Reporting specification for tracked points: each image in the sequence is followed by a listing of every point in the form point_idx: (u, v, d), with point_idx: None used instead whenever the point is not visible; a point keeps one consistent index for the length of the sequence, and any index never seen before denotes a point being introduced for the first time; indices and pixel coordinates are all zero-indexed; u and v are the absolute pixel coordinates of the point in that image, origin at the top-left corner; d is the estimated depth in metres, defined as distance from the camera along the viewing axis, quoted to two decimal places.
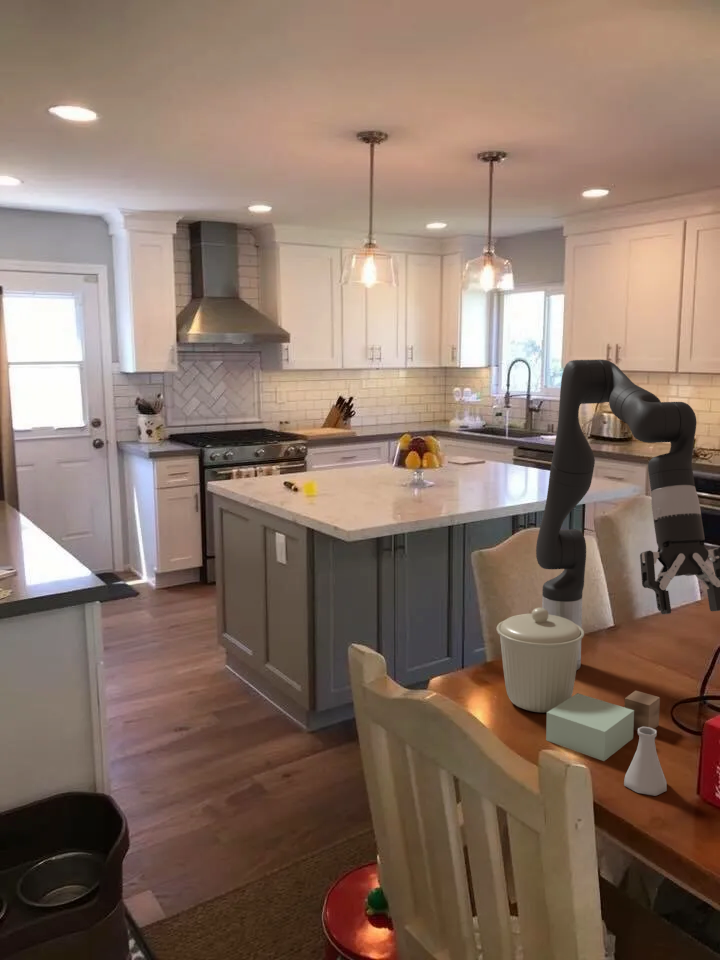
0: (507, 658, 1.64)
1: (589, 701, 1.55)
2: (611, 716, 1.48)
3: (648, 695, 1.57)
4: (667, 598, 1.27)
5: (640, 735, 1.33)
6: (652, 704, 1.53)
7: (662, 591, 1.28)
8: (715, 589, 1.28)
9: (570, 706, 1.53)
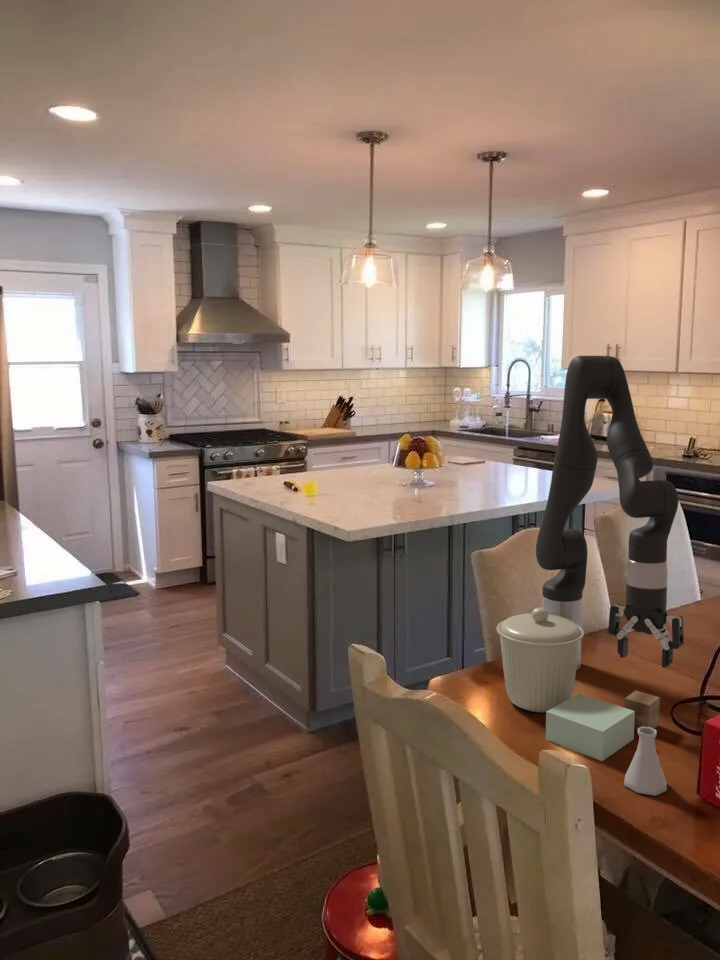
0: (507, 658, 1.64)
1: (590, 701, 1.55)
2: (610, 716, 1.48)
3: (648, 695, 1.57)
4: (621, 646, 1.56)
5: (640, 735, 1.33)
6: (652, 704, 1.53)
7: (620, 639, 1.57)
8: (663, 651, 1.50)
9: (571, 705, 1.53)
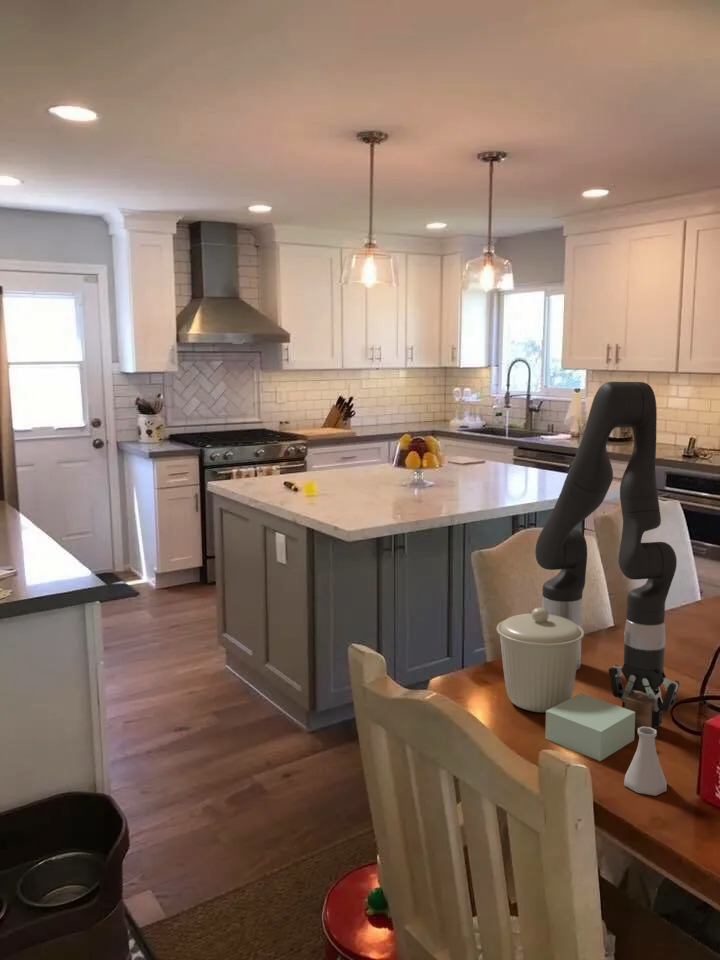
0: (507, 658, 1.64)
1: (591, 701, 1.55)
2: (610, 716, 1.48)
3: None
4: None
5: (640, 735, 1.33)
6: None
7: None
8: (653, 712, 1.53)
9: (571, 705, 1.53)
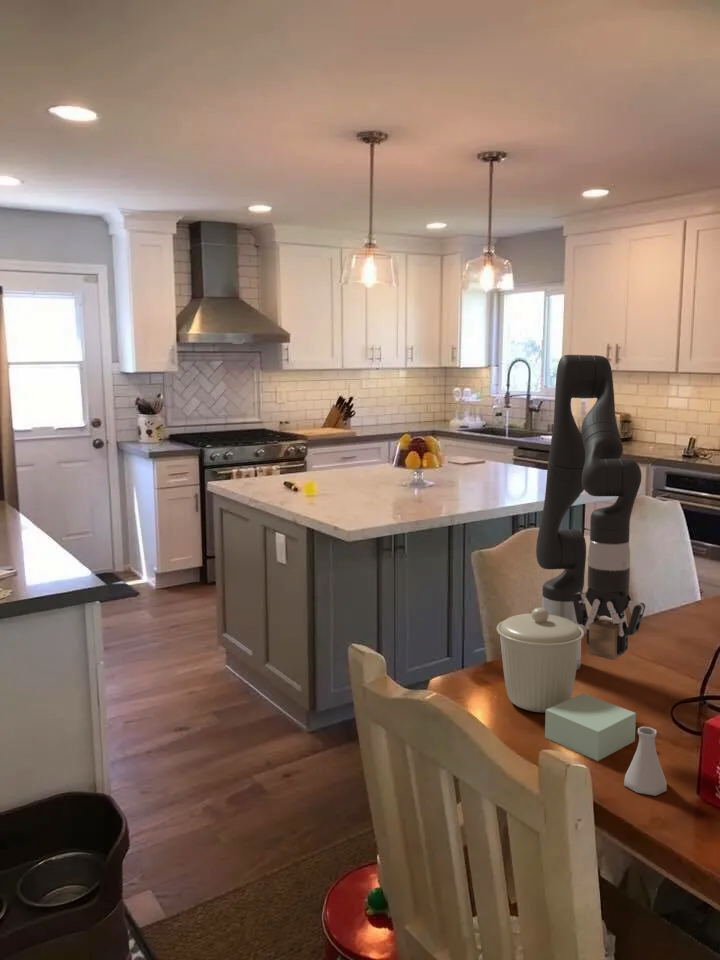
0: (507, 658, 1.64)
1: (593, 701, 1.55)
2: (610, 717, 1.48)
3: None
4: None
5: (640, 735, 1.33)
6: None
7: None
8: (618, 637, 1.46)
9: (572, 705, 1.53)
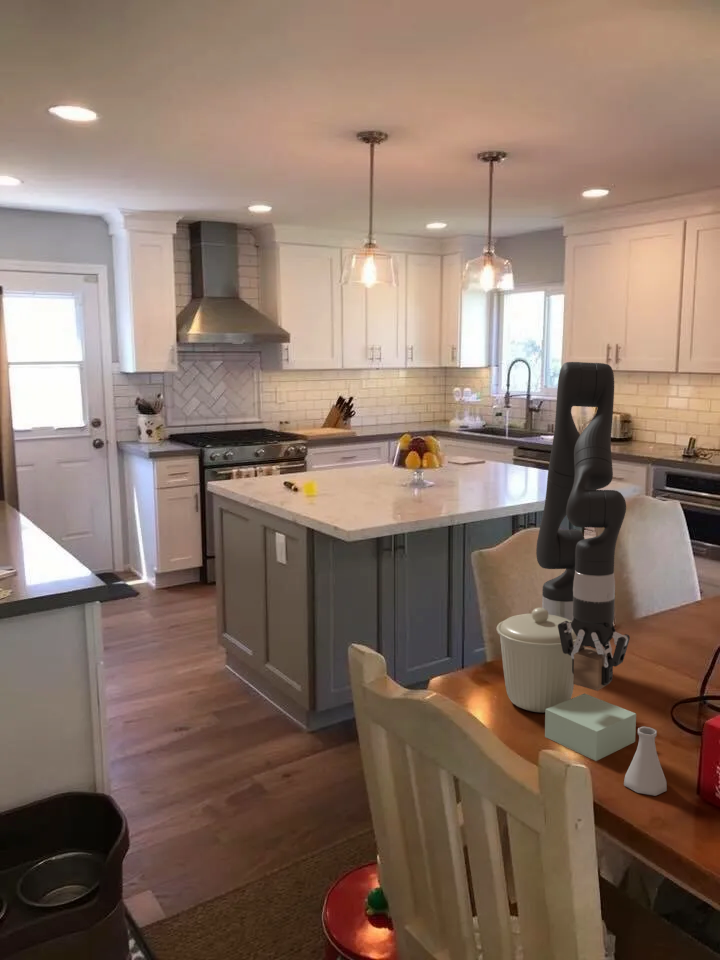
0: (507, 658, 1.64)
1: (593, 701, 1.55)
2: (609, 717, 1.48)
3: None
4: None
5: (640, 735, 1.33)
6: None
7: None
8: (602, 668, 1.46)
9: (572, 704, 1.53)
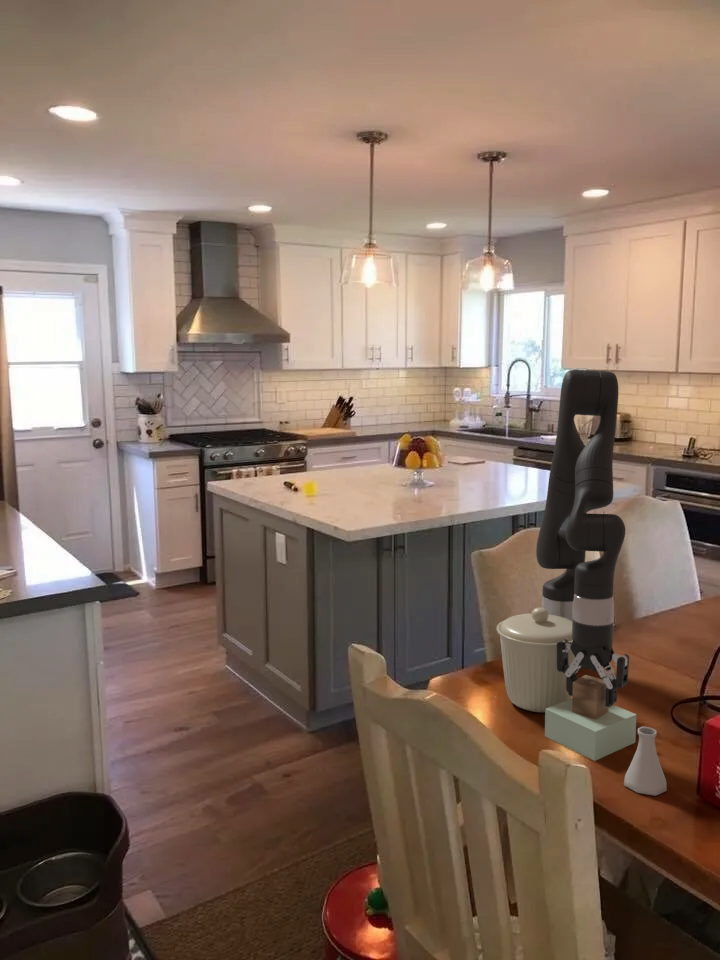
0: (507, 658, 1.64)
1: None
2: (609, 717, 1.48)
3: (597, 679, 1.51)
4: (570, 684, 1.52)
5: (640, 735, 1.33)
6: (600, 688, 1.47)
7: (569, 677, 1.52)
8: (607, 689, 1.46)
9: None
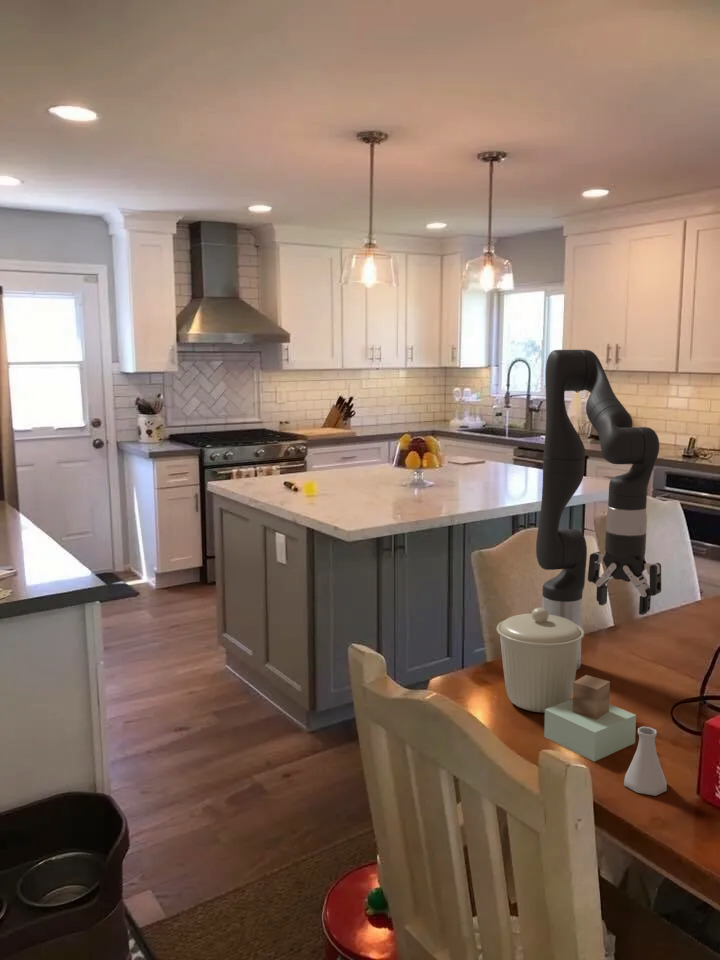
0: (507, 658, 1.64)
1: None
2: (609, 718, 1.47)
3: (598, 679, 1.51)
4: (600, 593, 1.57)
5: (640, 735, 1.33)
6: (601, 689, 1.47)
7: (599, 587, 1.57)
8: (640, 597, 1.51)
9: (572, 705, 1.53)
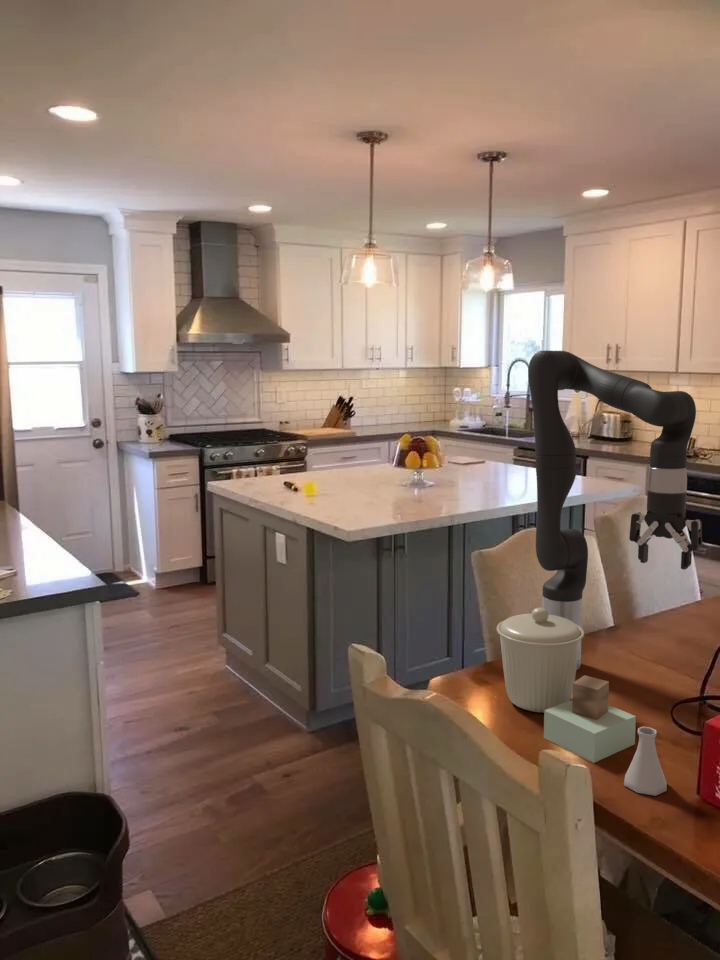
0: (507, 658, 1.64)
1: None
2: (608, 719, 1.47)
3: (597, 680, 1.50)
4: (642, 552, 1.65)
5: (640, 735, 1.33)
6: (600, 689, 1.47)
7: (640, 545, 1.65)
8: (682, 553, 1.59)
9: (571, 706, 1.53)
